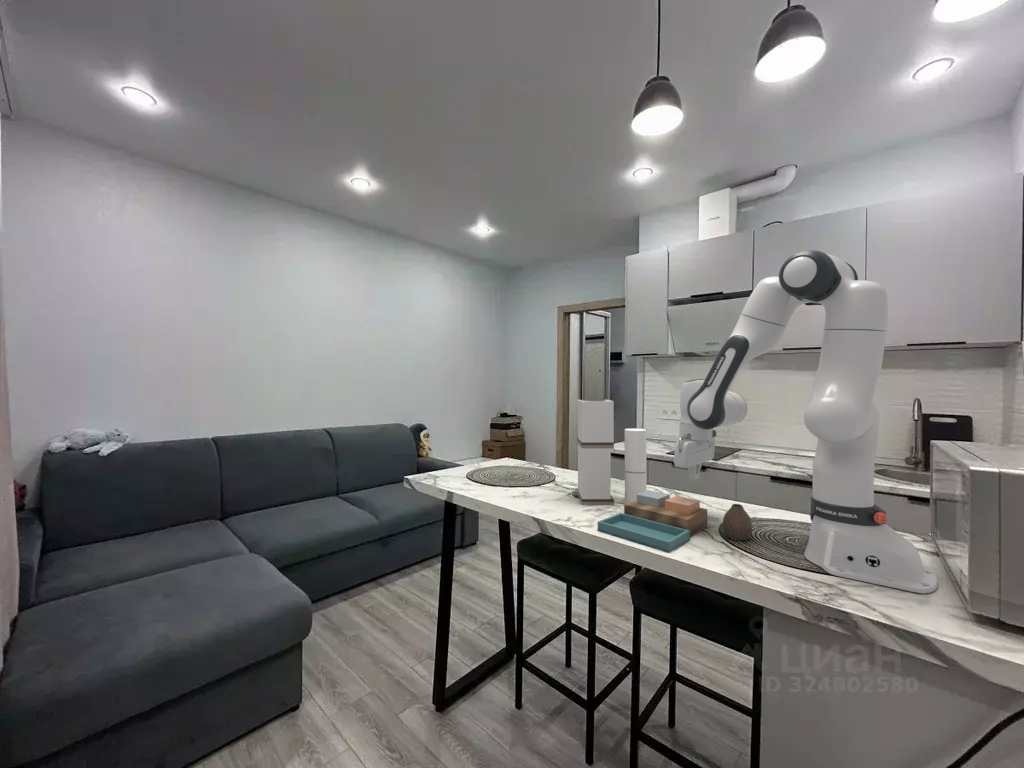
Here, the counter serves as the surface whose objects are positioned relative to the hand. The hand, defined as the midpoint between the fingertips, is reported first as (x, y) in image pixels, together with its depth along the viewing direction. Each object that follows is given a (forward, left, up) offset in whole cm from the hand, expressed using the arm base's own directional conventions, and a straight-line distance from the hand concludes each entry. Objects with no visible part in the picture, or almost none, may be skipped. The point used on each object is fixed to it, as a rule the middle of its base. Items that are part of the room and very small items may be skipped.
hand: (694, 478), depth 127 cm
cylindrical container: (+21, -3, -12) cm, 25 cm away
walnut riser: (+4, +11, -12) cm, 17 cm away
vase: (-15, +7, -13) cm, 20 cm away
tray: (+4, +23, -12) cm, 27 cm away
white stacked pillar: (+32, +5, -12) cm, 35 cm away
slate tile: (+8, +9, -7) cm, 14 cm away
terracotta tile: (-1, +9, -7) cm, 12 cm away
